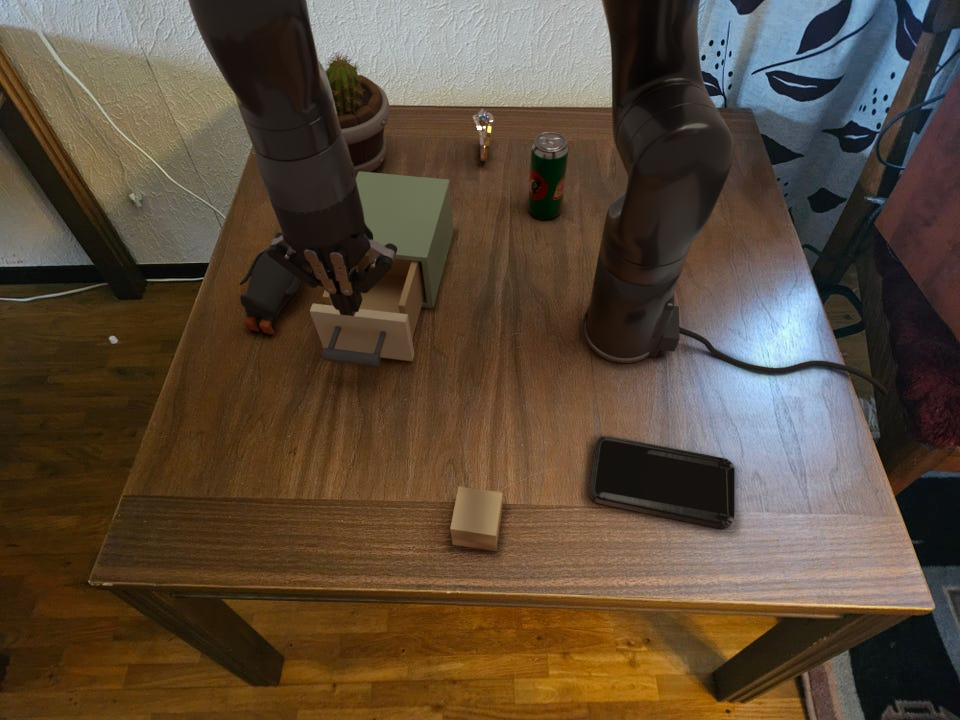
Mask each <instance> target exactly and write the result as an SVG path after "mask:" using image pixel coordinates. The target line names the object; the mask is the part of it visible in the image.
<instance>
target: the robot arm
mask: <svg viewBox="0 0 960 720" xmlns="http://www.w3.org/2000/svg"><path fill="white" fill-rule="evenodd" d="M600 1H601V5H602V10H603V12H604V13H603V14H604V17H605V20H606V25H607V30H608V34H609V43H610V58H611V59H610V60H611V61H610V63H611V128H612V129H611V130H612V136H613V140H614V144H615V148H616V152H618V156H619V158H620V160H621V163H622V165H623V168H624V170H625V172H626V175H627V184H626V191H625V192H624V193H622V194H620V195H619V196H617V197H616V198H615V199H614V200H613V201H612V202H611V204H610V205H609V207H608V209H607V212H606V215H605V219H604V224H603V230H602V234H601V241H600V244H599V251H598V257H597V261H596V266H595V272H594V278H593V283H592V288H591V293H590V294H591V295H590V299H589V304H588V307H587V309H586V312H585V314H584V317H583V324H584V327H583V336H584V339H585V341H586V344H587V345H588V347H589V348H590V349H591V350H592V352H594V353H595V354H596V355H598V356H599V357H601V358H603V359H605V360H607V361H610V362H612V363H618V364H632V363H637V362H641V361H643V360H644V359H646V358H648V357H653V358H655V357H658V355H659V351H667V352H672V353H673V352H674V353H675V351H676V349H677V347H678V345H679V342H680V339H681V337H680V336H681V335H683V336H686V337H689V338H691V339H693V340H696V341H698V342H699V343H701V344H702V345H704V346H705V347H706V349H707V351H709V352H710V353H711V354H712V355H713V356H715V357H717V358H718V359H721V360H723V361H725V362H726V363H729V364H732V365H734V366H736V367H739V368H741V369H746V370H748V371H749V370H750V371H753V372H759V373H764V374H765V373H766V374H773V375H776V374H777V375H778V374H788V373H792V372H796V371H799V370H802V369H807V368H812V367H824V368H831V369H836V370H840V371H843V372H846V371H847V372H846V373H849V374H852V375H855V376H857V377H859V378H861V379H863V380H865V381H867V382H868V383H869V384H870V385H872V386H873V387H875V389H877V391H879V393H880V394H881V395H883V396H884V397H888V396H889V395H890V394H889V391H888V389H886V387H885V386H884V385H883V384H882V383H881V382H880V381H879V380H878V379H876V378H875V377H873V376H871V375H870V374H868V373H867V372H864V371H862V370H860V369H858V368H854V367H852V366H849V365H845V364H841V363H837V362H833V361H827V360H807V361H803V362H799V363H796V364H793V365H789V366H784V367H768V366H761V365H757V364H752V363H748V362H745V361H741V360H738V359H736V358H734V357H732V356H729V355H727V354H725V353H724V352H722V351H720V350H717V349H716V348H715V347H714V346H713V344H712V343H711V342H710V341H709V340H708V339H707V338H705V337H704V336H702V335H700V334H698V333H696V332H694V331H691V330H688V329H686V328H684V327H681V326H680V305H675V291H676V288H677V286H678V283H679V280H680V277H681V275H682V272H683V269H684V265H685V263H686V260H687V257H688V254H689V251H690V248H691V245H692V243H693V242H694V241H695V240H696V239H697V238H698V236H699V235H700V234H701V233H702V232H703V231H704V230H705V228H706V226H707V224H708V223H709V220H710V219H711V216H712V214H713V211H714V209H715V207H716V205H717V202H718V201H719V198H720V196H721V193H722V191H723V189H724V187H725V184H726V182H727V179H728V176H729V174H730V171H731V167H732V164H733V161H734V154H735V142H734V141H735V140H734V138H733V137H734V136H733V134H732V132H731V130H730V129H729V128H730V127H728V124H727V123H726V121H725V120H724V118H723V116H722V114H721V113H720V111H719V110H718V108H717V106H716V104H715V103H714V100H712V98H711V96H710V94H709V91H708V89H707V87H706V85H705V82H704V77H703V72H702V66H701V65H702V64H701V58H700V45H699V30H698V27H699V25H698V23H699V22H698V20H699V10H700V9H699V8H700V2H701V0H600ZM307 2H308V1H307V0H188V4H189V7H190V10H191V11H190V12H191V13H192V17H193V19H194V22H195V25H196V27H197V30H198V32H199V34H200V36H201V39H202V40H203V43H204V45H205V47H206V49H207V51H208V52H209V54H210V57H211V58H212V60H213V61H214V63H215V65H216V67H217V69H218V71H219V72H220V74H221V76H222V77H223V79H224V81H225V82H226V84H227V85H228V87H229V88H230V90H231V91H232V93H233V94H234V97H235V100H236V103H237V107H238V110H239V113H240V116H241V118H242V121H243V124H244V127H245V129H246V132H247V134H248V137H249V140H250V143H251V145H252V147H253V151H254V155H255V161H256V166H257V169H258V172H259V175H260V178H261V181H262V182H263V185H264V188H265V191H266V194H267V195H268V198H269V201H270V203H271V206H272V209H273V211H274V214H275V217H276V219H277V222H278V225H279V227H280V229H281V232H280V231H279V232H276V233H275V235H274V237H273V239H272V241H271V243H270V245H269V247H268V248H269V249H268V248H267V249H268V251H267V254H268V255H269V256H270V257H271V258H272V259H274V260H275V261H276V262H278V263H279V264H280V265H282V266H283V267H284V268H286V269H287V270H288V271H290V272H291V273H292V274H293V275H295V276H296V277H297V278H299V279H300V280H301V281H302V283H304V284H305V285H306V286H308V287H309V288H313V289H316V288H318V286H319V287H321V288H324V291H325V290H326V292H328V293H329V295H330V298H331V301H332V304H333V307H334V308H335V309H336V310H339V313H340V315H347V316H354V315H355V313H356V312H358V311H359V308H360V305H361V303H362V300H363V299H362V295H361V293H367V292H368V291H369V290H370V289H371V288H372V287H373V286H374V285H375V284H376V283H377V282H378V281H379V280H380V279H381V278H382V277H383V276H384V275H385V274H386V273H387V272H388V271H389V270H390V269H391V267H392V264H393V262H394V259H395V256H396V252H397V247H396V246H395V245H394V244H391V243H388V244H386V245H385V246H383V245H381V244H380V243H378V242H376V241H375V240H373V233H372V232H371V230H370V229H369V228H368V227H367V225H366V224H365V221H364V213H363V208H362V203H361V199H360V195H359V191H358V187H357V182H356V178H355V168H354V164H353V163H352V161H351V157H350V153H349V149H348V146H347V143H346V140H345V138H344V136H343V133H342V130H341V127H340V124H339V120H338V115H337V111H336V107H335V103H334V99H333V95H332V91H331V87H330V84H329V81H328V78H327V75H326V72H325V71H326V69H325V68H324V67H323V64H322V63H321V61H320V60H319V57H318V52H317V45H316V41H315V38H314V33H313V28H312V24H311V18H310V13H309V7H308V3H307ZM367 252H368V253H369V254H370V257H369V263H368V264H367V265H366V267H365V268H364V269H363V271H361V272H358V268H357V264H358V263H359V262H360V260H361V259H362V258H363V257H364V255H365V254H366V253H367ZM303 263H304V264H305V265H306V267H308V268H309V269H310V271H308V270H307V269H304V268H303ZM680 334H681V335H680Z"/></svg>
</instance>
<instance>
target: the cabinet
mask: <svg viewBox="0 0 960 720" xmlns="http://www.w3.org/2000/svg"><path fill="white" fill-rule="evenodd" d="M356 182H357V187H358V191H359V195H360V199H361V203H362V208H363V213H364V221H365V224H366V225H367V227H368V228H369V229H370V230H371V232H372V233H373V240H375V241H376V242H378V243H380V244H381V245H383V246H385V245H386V244H388V243H391V244H394V245H395V246H396V247H397V252H396V256H395V259H402V260H411V261H421V262H422V269H423V277H424V284H425V296H424V299H423V303H422V307H421V308H424V309H425V308H427V309H434V308H435V304H436V300H437V297H438V293H439V289H440V284H441V281H442V278H443V274H444V269H445V267H446V266H445V265H446V262H447V258H448V253H449V250H450V247H451V243H452V239H453V235H454V224H453V223H454V222H453V209H452V196H451V183H450V179H447V178H437V177H436V178H435V177H426V176H425V177H424V176H415V175H414V176H413V175H404V174H403V175H402V174H390V173H381V172H374V173H371V172H360V171H359V172H358V174H357V177H356ZM364 256H370V254H369V253H368V252H367V253H366V254H365V255H364Z"/></svg>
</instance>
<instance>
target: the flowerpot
mask: <svg viewBox="0 0 960 720" xmlns="http://www.w3.org/2000/svg"><path fill="white" fill-rule="evenodd" d="M343 52H344V51H341V54H340V52H334V51H332V53H333V55H334V58H330V59H329V58H328V59H326V60H325V62H327V64H326V63H325V64H324V65H325V67H327V68H326V70H325V72H326V75H327V78H328V81H329V84H330V87H331V91H332V95H333V99H334V103H335V107H336V111H337V115H338V120H339V124H340V127H341V130H342V133H343V136H344V138H345V140H346V143H347V146H348V149H349V153H350V157H351V161H352V163H353V164H354V168H355V178H356V177H357V174H358V172H359V171H360V172H371V173H376V172H377V171H378V170H379V168H380V167H381V165H382V164H383V162H384V160H385V157H386V154H387V153H386V152H387V140H386V137H385V126H386V125H387V123H388V121H389V118H390V112H391V110H390V109H391V108H390V103H389V99H388V95H387V93H386V92H385V91H384V89H383V88H382V87H381V86H380V85H378V84H377V83H375V82H374V81H372V80H371V79H369V78H368V77H367V76H364V75H363V74H358V72H360V69H358V68H359V65H358V64H357V63H356V62H354V65H353V64H351V61H352V58H349V55H347V54H346V56H343ZM337 53H338V54H337ZM348 58H349V59H348Z"/></svg>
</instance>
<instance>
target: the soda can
mask: <svg viewBox="0 0 960 720" xmlns="http://www.w3.org/2000/svg"><path fill="white" fill-rule="evenodd" d="M530 148H531V149H530V164H529V165H530V166H529V182H528V199H527V200H528V201H527V209H528V211H529V213H530V214H531V215H532V216H534V217H535V218H537V219H540V220H551V219H553V218H555V217H557V216H558V215H560V213H561V212H562V210H563V202H564V195H565V194H564V193H565V185H566V176H567V168H568V159H569V150H570V149H569V145H568V142H567V138H566V137H565V136H564V135H563V134H562V133H558V132H555V131H545V132H541V133H539V134H538V135H537V136H536V137H535V138H534V142H533V143H532V144H531V147H530Z"/></svg>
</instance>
